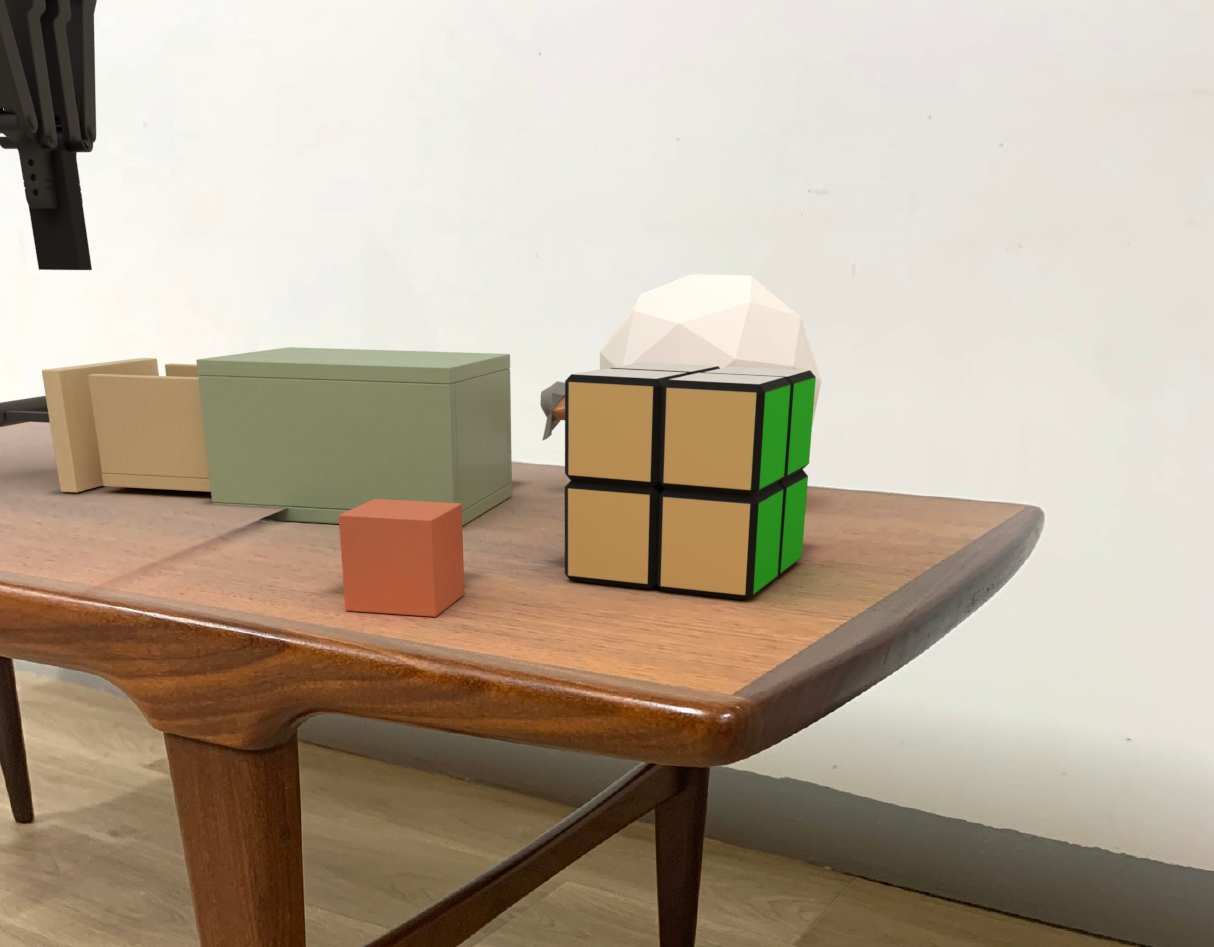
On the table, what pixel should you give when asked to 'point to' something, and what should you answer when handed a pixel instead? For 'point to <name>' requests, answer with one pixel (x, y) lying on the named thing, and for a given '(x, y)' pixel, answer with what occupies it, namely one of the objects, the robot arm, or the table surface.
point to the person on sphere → (702, 332)
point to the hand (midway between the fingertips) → (65, 269)
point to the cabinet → (356, 429)
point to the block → (402, 557)
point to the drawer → (121, 425)
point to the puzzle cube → (686, 476)
